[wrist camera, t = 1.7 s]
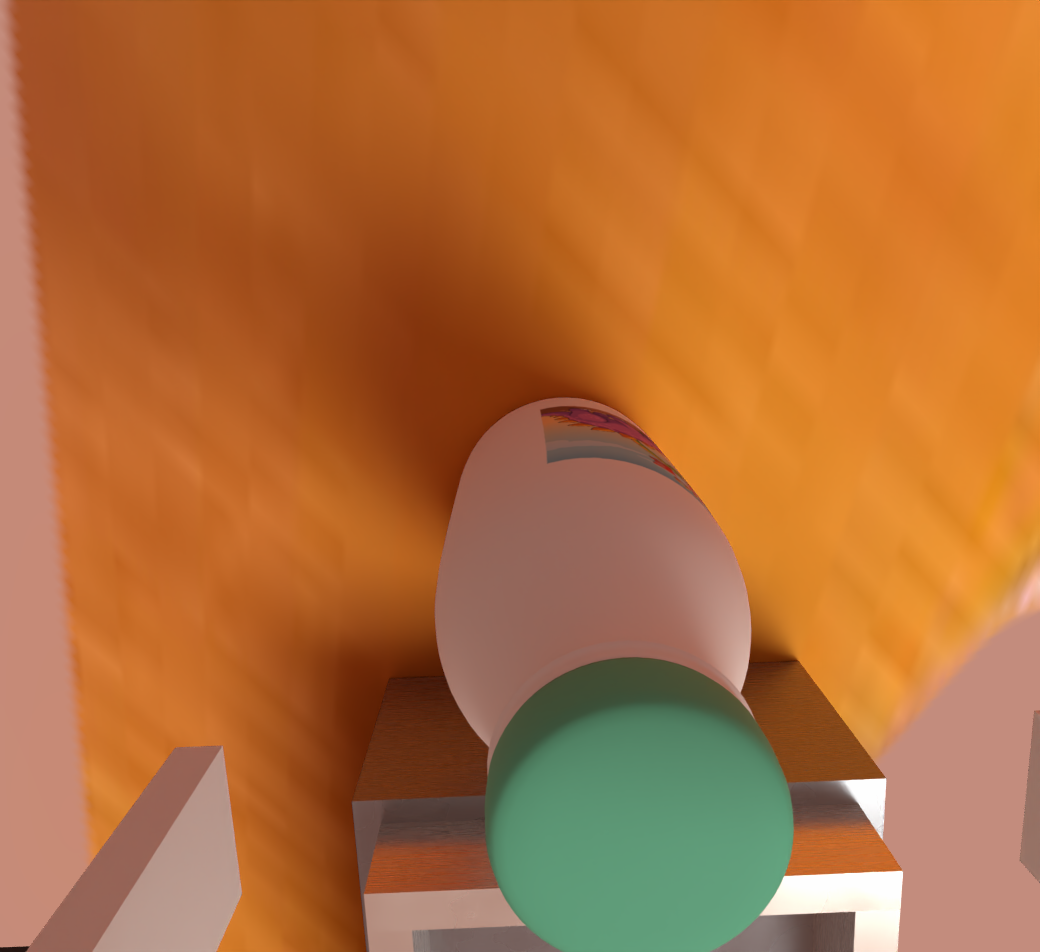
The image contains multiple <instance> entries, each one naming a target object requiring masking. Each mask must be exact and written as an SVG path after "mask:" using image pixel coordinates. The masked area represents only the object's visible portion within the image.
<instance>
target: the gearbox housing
mask: <svg viewBox="0 0 1040 952" xmlns="http://www.w3.org/2000/svg"><path fill="white" fill-rule="evenodd" d="M741 695H742V696H743V697H744V699H745V700H746V702H747V704H748V706H749V708H750V709H751V711H752V714H753V716H754V718H755V721H756V722H757V723H758V725H759V727H760V728H761V730H762V731H763V733H764V734H765V736H766V738H767V739H768V741H769V743H770V745H771V747H772V748H773V751H774V753H775V755H776V757H777V759H778V762H779V764H780V766H781V768H782V771H783V773H784V776H785V778H786V781H787V784H788V788H789V791H790V796H791V802H792V809H793V825H794V835H793V846H792V852H791V857H790V861H789V864H788V868H787V870H786V873H785V875H784V878H783V880H782V882H781V884H780V886H779V888H778V890H777V892H776V894H775V895H774V897H773V898H772V900H771V901H770V903H769V904H768V905H767V907H766V908H765V909H764V910H763V912H762V913H761V914H760V915H759V916H758V917H757V918H756V919H755V920H754V921H753V922H752V923H751V924H750V925H749V926H748V927H747V928H746V929H745V930H743V931H742V932H741V933H740V934H738V935H737V936H736V937H734V938H733V939H731V940H730V941H728V942H727V943H725V944H723V945H722V946H720V947H718V948H716V949H715V950H712V951H710V952H897V948H898V933H899V918H900V904H901V890H902V875H903V871H902V869H901V868H900V866H899V865H898V863H897V861H896V860H895V859H894V857H893V855H892V854H891V852H890V851H889V850H888V848H887V846H886V845H885V843H884V842H883V840H882V839H883V823H884V807H885V792H886V777H885V776H884V775H883V773H882V772H881V771H880V769H879V768H878V767H877V765H876V764H875V763H874V761H873V760H872V759H871V757H870V756H869V755H868V753H867V752H866V751H865V749H864V748H863V747H862V745H861V744H860V743H859V741H858V740H857V739H856V737H855V736H854V734H853V733H852V732H851V730H850V729H849V728H848V726H847V725H846V724H845V722H844V721H843V720H842V718H841V717H840V716H839V714H838V713H837V712H836V710H835V709H834V708H833V706H832V705H831V704H830V702H829V701H828V700H827V698H826V697H825V696H824V694H823V693H822V692H821V690H820V689H819V688H818V686H817V685H816V684H815V682H814V681H813V680H812V678H811V677H810V675H809V674H808V673H807V671H806V670H805V669H804V667H803V666H802V665H801V663H800V662H799V661H786V662H763V663H748V669H747V673H746V677H745V681H744V684H743V687H742V690H741ZM488 751H489V746H488V745H487V744H486V743H485V742H484V741H483V740H482V739H481V738H480V737H479V736H478V735H477V733H476V732H475V731H474V729H473V728H472V727H471V726H470V724H469V723H468V721H467V719H466V718H465V716H464V715H463V713H462V711H461V710H460V708H459V706H458V705H457V703H456V701H455V699H454V697H453V695H452V693H451V690H450V688H449V685H448V682H447V680H446V677H445V676H436V677H413V678H390V679H389V681H388V685H387V688H386V691H385V694H384V698H383V701H382V704H381V708H380V711H379V714H378V717H377V721H376V724H375V727H374V730H373V734H372V737H371V740H370V744H369V747H368V750H367V753H366V757H365V760H364V763H363V766H362V770H361V773H360V776H359V780H358V783H357V786H356V789H355V793H354V796H353V799H352V808H353V819H354V829H355V839H356V849H357V859H358V869H359V880H360V890H361V900H362V910H363V920H364V930H365V940H366V951H367V952H562V951H560V950H558V949H556V948H555V947H553V946H551V945H550V944H548V943H547V942H545V941H544V940H542V939H541V938H539V937H538V936H537V935H536V934H535V933H533V932H532V931H531V930H530V929H529V928H528V927H527V926H526V925H525V924H524V923H523V922H522V921H521V920H520V919H519V918H518V917H517V915H516V914H515V913H514V912H513V910H512V909H511V907H510V906H509V904H508V903H507V901H506V900H505V898H504V896H503V894H502V892H501V890H500V888H499V886H498V883H497V881H496V878H495V875H494V873H493V870H492V868H491V865H490V861H489V857H488V853H487V847H486V838H485V795H486V786H487V778H488V775H487V761H488Z"/></svg>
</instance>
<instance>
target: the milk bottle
mask: <svg viewBox="0 0 1040 952" xmlns="http://www.w3.org/2000/svg"><path fill="white" fill-rule="evenodd" d="M435 627H436V637H437V645H438V651H439V656H440V660H441V664H442V668H443V671H444V674H445V677H446V680H447V682H448V685H449V688H450V690H451V693H452V695H453V697H454V699H455V701H456V703H457V705H458V706H459V708H460V710H461V711H462V713H463V715H464V716H465V718H466V719H467V721H468V723H469V724H470V726H471V727H472V728H473V729H474V731H475V732H476V733H477V735H478V736H479V737H480V738H481V739H482V740H483V741H484V742H485V743H486V744H487V745H488V746H489V751H488V761H487V775H488V778H487V786H486V795H485V838H486V847H487V853H488V857H489V861H490V865H491V868H492V870H493V873H494V875H495V878H496V881H497V883H498V886H499V888H500V890H501V892H502V894H503V896H504V898H505V900H506V901H507V903H508V904H509V906H510V907H511V909H512V910H513V912H514V913H515V914H516V915H517V917H518V918H519V919H520V920H521V921H522V922H523V923H524V924H525V925H526V926H527V927H528V928H529V929H530V930H531V931H532V932H533V933H535V934H536V935H537V936H538V937H539V938H541V939H542V940H544V941H545V942H547V943H548V944H550V945H551V946H553V947H555V948H556V949H558V950H560V951H562V952H710V951H712V950H715V949H716V948H718V947H720V946H722V945H723V944H725V943H727V942H728V941H730V940H731V939H733V938H734V937H736V936H737V935H738V934H740V933H741V932H742V931H743V930H745V929H746V928H747V927H748V926H749V925H750V924H751V923H752V922H753V921H754V920H755V919H756V918H757V917H758V916H759V915H760V914H761V913H762V912H763V910H764V909H765V908H766V907H767V905H768V904H769V903H770V901H771V900H772V898H773V897H774V895H775V894H776V892H777V890H778V888H779V886H780V884H781V882H782V880H783V878H784V875H785V873H786V870H787V868H788V864H789V861H790V857H791V852H792V846H793V835H794V825H793V809H792V802H791V796H790V791H789V788H788V784H787V781H786V778H785V776H784V773H783V771H782V768H781V766H780V764H779V762H778V759H777V757H776V755H775V753H774V751H773V748H772V747H771V745H770V743H769V741H768V739H767V738H766V736H765V734H764V733H763V731H762V730H761V728H760V727H759V725H758V723H757V722H756V721H755V718H754V716H753V714H752V711H751V709H750V708H749V706H748V704H747V702H746V700H745V699H744V697H743V696H742V695H741V690H742V687H743V684H744V681H745V677H746V673H747V669H748V663H749V656H750V646H751V616H750V608H749V601H748V595H747V590H746V586H745V583H744V579H743V576H742V573H741V570H740V568H739V565H738V562H737V560H736V557H735V555H734V552H733V550H732V548H731V546H730V544H729V542H728V540H727V538H726V536H725V535H724V533H723V532H722V530H721V529H720V527H719V526H718V524H717V522H716V521H715V519H714V518H713V516H712V515H711V513H710V512H709V510H708V509H707V507H706V506H705V504H704V503H703V502H702V500H701V499H700V498H699V497H698V495H697V494H696V493H695V492H694V490H693V489H692V488H691V487H690V485H689V484H688V483H687V482H686V480H685V479H684V478H683V477H682V475H681V474H680V473H679V472H678V471H677V469H676V468H675V467H674V466H673V465H672V464H671V462H670V461H669V460H668V459H667V458H666V456H665V455H664V454H663V453H662V452H661V450H660V449H659V448H658V447H657V446H656V445H655V443H654V442H653V441H652V440H651V439H650V438H649V437H648V435H647V434H646V433H645V432H644V431H643V430H642V429H641V428H639V427H638V426H637V425H636V424H635V423H634V422H632V421H631V420H630V419H629V418H627V417H626V416H624V415H623V414H621V413H620V412H618V411H616V410H614V409H612V408H610V407H608V406H606V405H603V404H601V403H598V402H594V401H591V400H586V399H580V398H569V397H565V398H551V399H544V400H540V401H536V402H533V403H530V404H527V405H524V406H522V407H520V408H517V409H516V410H514V411H512V412H510V413H508V414H507V415H505V416H504V417H503V418H501V419H500V420H498V421H497V422H496V423H495V424H494V425H493V426H491V427H490V428H489V429H488V431H487V432H486V433H485V434H484V435H483V436H482V437H481V439H480V440H479V441H478V443H477V444H476V446H475V447H474V449H473V450H472V452H471V454H470V456H469V458H468V460H467V463H466V465H465V468H464V470H463V473H462V476H461V479H460V483H459V487H458V490H457V494H456V498H455V502H454V506H453V510H452V514H451V518H450V522H449V525H448V530H447V534H446V539H445V543H444V548H443V552H442V557H441V562H440V568H439V574H438V582H437V590H436V599H435Z"/></svg>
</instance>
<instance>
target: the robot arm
mask: <svg viewBox="0 0 1040 952" xmlns="http://www.w3.org/2000/svg"><path fill="white" fill-rule="evenodd" d="M1023 822H1024V823H1023V832H1022V842H1021V853H1020V861H1021V863H1022V864H1023V865H1024V866H1025V867H1026V868H1027V869H1028V870H1029V872H1031V874H1032V875H1033V876H1034V877H1035V878H1036V879H1037V881H1038V882H1039V883H1040V711H1034V718H1033V728H1032V739H1031V749H1030V759H1029V770H1028V780H1027V791H1026V801H1025V812H1024V821H1023ZM241 895H242V890H241V882H240V875H239V867H238V859H237V852H236V844H235V836H234V828H233V821H232V813H231V805H230V798H229V790H228V782H227V775H226V767H225V759H224V751H223V746H202V747H179V748H175V749H174V750H173V752H172V753H171V754H170V756H169V757H168V758H167V760H166V761H165V763H164V764H163V765H162V767H161V768H160V769H159V771H158V772H157V773H156V775H155V776H154V778H153V779H152V780H151V782H150V783H149V784H148V786H147V787H146V788H145V790H144V791H143V793H142V794H141V795H140V797H139V798H138V799H137V801H136V802H135V803H134V805H133V806H132V808H131V809H130V810H129V812H128V813H127V814H126V816H125V817H124V819H123V820H122V821H121V823H120V824H119V825H118V827H117V828H116V829H115V831H114V832H113V834H112V835H111V836H110V838H109V839H108V840H107V842H106V843H105V844H104V846H103V847H102V849H101V850H100V851H99V853H98V854H97V855H96V857H95V858H94V859H93V861H92V862H91V864H90V865H89V866H88V868H87V869H86V871H85V872H84V873H83V875H82V876H81V877H80V879H79V880H78V881H77V883H76V884H75V885H74V887H73V888H72V889H71V891H70V892H69V894H68V895H67V896H66V898H65V899H64V901H63V902H62V903H61V905H60V906H59V907H58V909H57V910H56V911H55V913H54V914H53V915H52V917H51V918H50V919H49V921H48V922H47V924H46V925H45V926H44V928H43V929H42V930H41V932H40V933H39V935H38V936H37V937H36V939H35V940H34V941H33V943H32V944H31V945H30V946H29V947H28V946H26V947H3V948H0V952H216V951H217V949H218V946H219V944H220V942H221V940H222V938H223V935H224V933H225V931H226V929H227V926H228V924H229V922H230V920H231V917H232V915H233V913H234V911H235V908H236V906H237V904H238V902H239V899H240V897H241Z"/></svg>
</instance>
